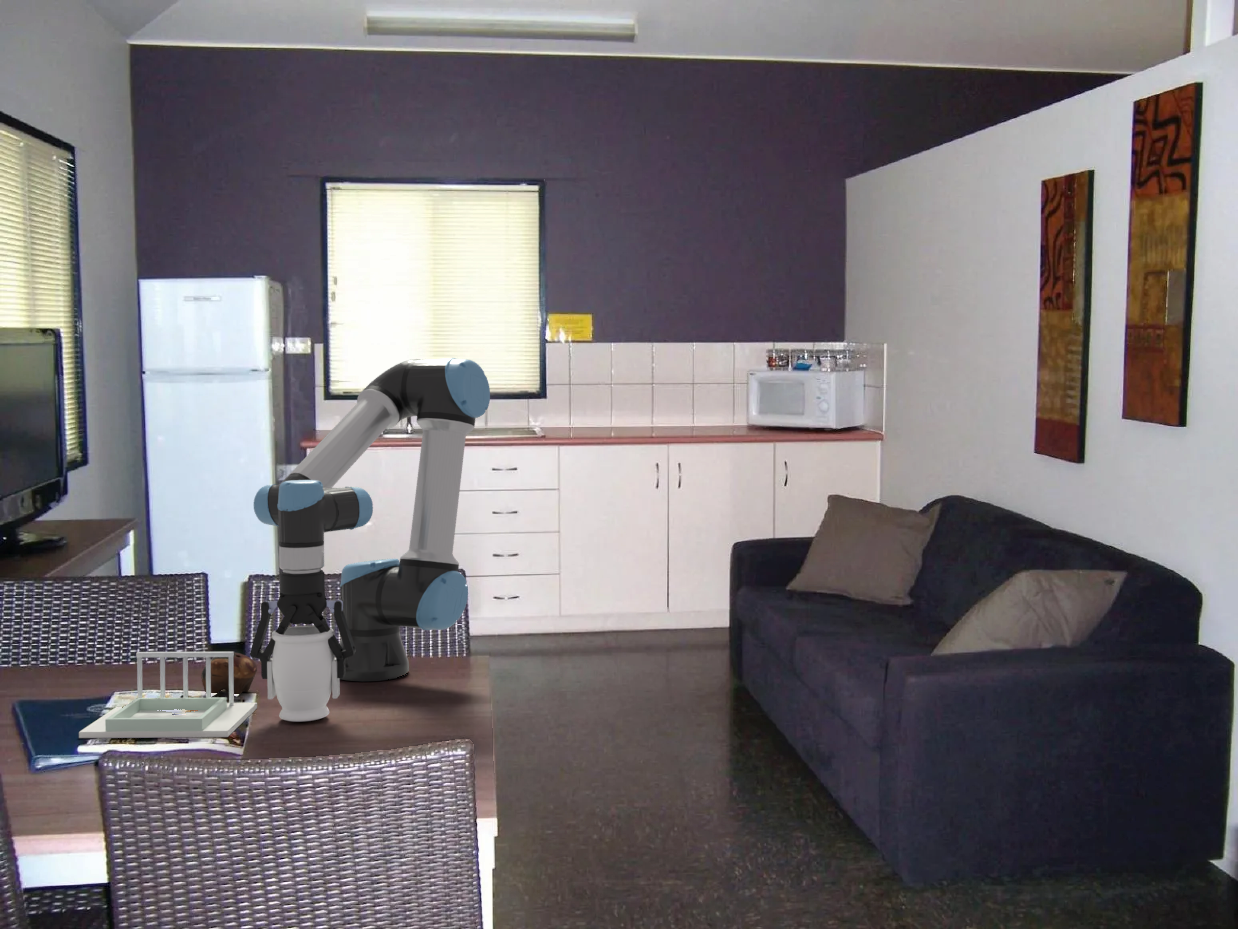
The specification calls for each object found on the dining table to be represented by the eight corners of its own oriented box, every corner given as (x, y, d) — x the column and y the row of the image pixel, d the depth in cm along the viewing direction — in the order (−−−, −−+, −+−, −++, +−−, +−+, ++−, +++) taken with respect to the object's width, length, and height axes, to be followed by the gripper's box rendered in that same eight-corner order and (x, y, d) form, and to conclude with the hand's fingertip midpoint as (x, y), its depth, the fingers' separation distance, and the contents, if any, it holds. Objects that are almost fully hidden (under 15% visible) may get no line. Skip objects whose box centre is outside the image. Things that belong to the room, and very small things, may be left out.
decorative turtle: (192, 704, 221) (190, 660, 221) (215, 690, 236) (213, 649, 236) (246, 700, 222) (244, 656, 222) (265, 687, 237) (263, 646, 237)
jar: (302, 727, 203) (301, 639, 202) (260, 718, 209) (258, 632, 208) (348, 713, 212) (346, 628, 211) (306, 705, 218) (304, 622, 217)
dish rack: (257, 708, 218) (256, 649, 218) (227, 737, 199) (227, 673, 199) (121, 709, 217) (120, 650, 217) (79, 738, 198) (77, 673, 198)
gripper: (372, 566, 213) (373, 690, 214) (240, 567, 212) (242, 692, 213) (365, 572, 206) (367, 701, 207) (228, 573, 205) (231, 703, 206)
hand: (304, 697), depth 210 cm, fingers closed on jar, 10 cm apart
